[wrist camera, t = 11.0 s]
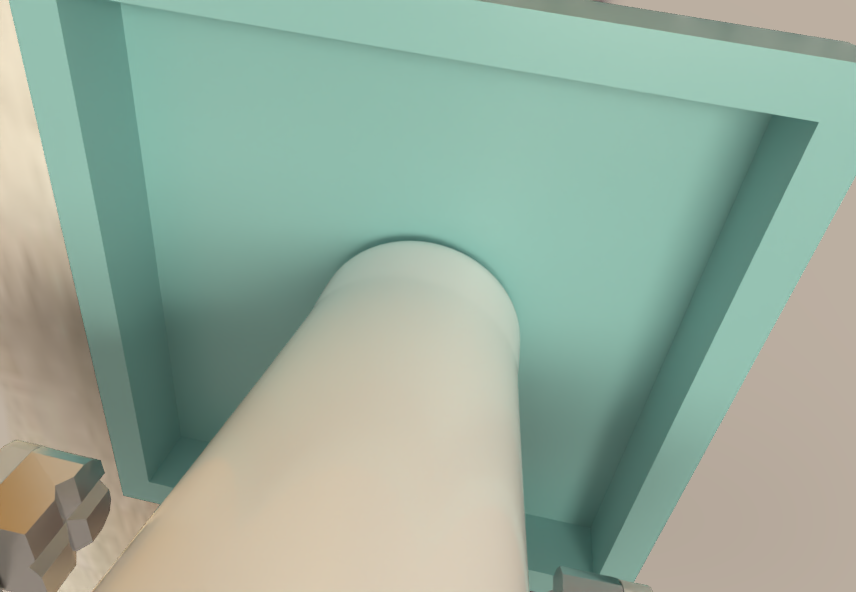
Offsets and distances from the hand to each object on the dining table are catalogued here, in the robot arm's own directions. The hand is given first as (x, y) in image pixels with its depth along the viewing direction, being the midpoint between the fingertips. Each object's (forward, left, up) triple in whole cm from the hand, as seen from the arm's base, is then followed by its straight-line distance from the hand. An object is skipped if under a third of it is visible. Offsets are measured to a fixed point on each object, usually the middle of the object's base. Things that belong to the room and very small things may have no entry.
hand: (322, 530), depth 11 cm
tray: (0, 0, -8) cm, 8 cm away
